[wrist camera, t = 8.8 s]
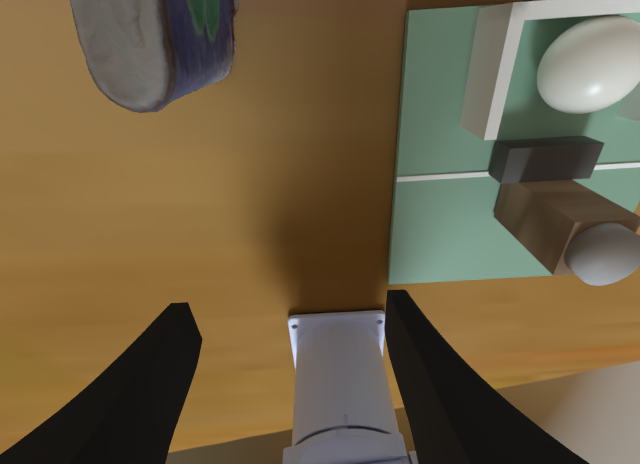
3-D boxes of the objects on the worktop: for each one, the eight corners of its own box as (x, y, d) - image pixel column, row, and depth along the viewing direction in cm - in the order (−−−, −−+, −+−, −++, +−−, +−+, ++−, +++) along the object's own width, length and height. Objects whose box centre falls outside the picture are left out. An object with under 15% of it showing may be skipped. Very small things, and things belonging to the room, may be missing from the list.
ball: (684, 89, 13) (679, -12, 13) (583, 96, 13) (578, -6, 13) (597, 122, 17) (593, 45, 17) (520, 127, 17) (516, 50, 17)
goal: (627, 115, 18) (680, 128, 15) (459, 125, 18) (483, 140, 15) (679, -5, 15) (756, -14, 12) (479, 8, 15) (513, 2, 12)
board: (595, 267, 24) (603, 273, 24) (386, 279, 24) (388, 285, 24) (737, -11, 15) (754, -13, 15) (406, 11, 15) (410, 10, 15)
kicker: (554, 212, 21) (653, 284, 15) (477, 217, 21) (545, 290, 15) (583, 135, 18) (718, 184, 12) (496, 141, 18) (586, 192, 12)
